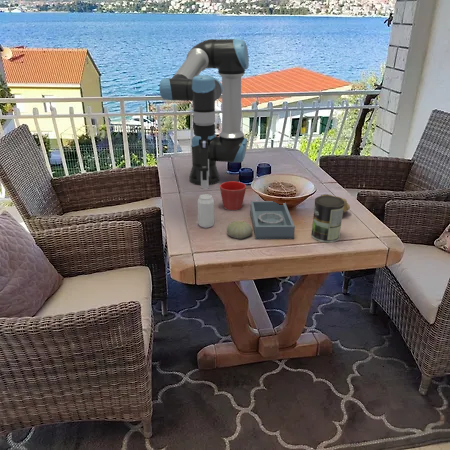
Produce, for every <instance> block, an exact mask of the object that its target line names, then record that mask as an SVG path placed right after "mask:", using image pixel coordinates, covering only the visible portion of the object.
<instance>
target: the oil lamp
mask: <svg viewBox="0 0 450 450" xmlns="http://www.w3.org/2000/svg"><path fill="white" fill-rule="evenodd" d="M320 196H333V195H331V194H327V193H325V194H320ZM334 196H335V195H334ZM335 197H338V198H341V199H342V200H344V202H345V204H344V208H343V214H344V213H347V211H348V210H350V208H351V206H350V204H349V203H348V202H347V199H346V198H342V197H341V196H340V197H339V196H335Z"/></svg>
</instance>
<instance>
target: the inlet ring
mask: <svg viewBox="0 0 450 450" xmlns="http://www.w3.org/2000/svg"><path fill="white" fill-rule="evenodd" d="M266 218H273V219H277V220H279V221H277V222H267V221H264V220H263V219H266ZM283 222H284V217H282V216H281V215H280V214H276V213H263V214H260V215H259V217H258V223H259V224H260V225H261V226H280V225H283Z"/></svg>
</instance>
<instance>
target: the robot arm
mask: <svg viewBox="0 0 450 450" xmlns="http://www.w3.org/2000/svg"><path fill="white" fill-rule="evenodd" d="M248 49H249V48H248V45H247V43H246V42H245V40H243V39H238V38H237V39H235V38H229V39H226V38H225V39H224V38H223V39H213V38H211V39H206V40H203V41H200V42H199V43H198V44H197V43H196V45H194V46H193V47H192V48H190V49H189V51H188V52H187V53H186V58H185V60H184V62H183V63H182V64H181V66H180V67H179V68H178V70H177V71H176V72H175V73H174V75H173V76H172V77H171V78H170V77H167V78H162V79H161V80H160V82H159V94H160V97H161V98H162V100H165V101H171V102H172V101H184V102H185V101H186V102H189V101H190V102H192V111H193V112H192V113H191V117H193V118H192V121H193V123H194V124H193V135H194V136H193V137H192V138H191V145H190V146H191V159H192V160H191V161H192V163H191V165H192V166H191V170H190V174H189V175H188V176H189V182H190V183H191V184H193V185H197V186H200V189H209V188H210V187H209V186H210V185H215V184H217V183H219V182H220V173H219V170H218V168H217V162H226V163H233V164H234V163H242V162H244V159H245V158H246V157H245V156H246V153H247V147H248V138H247V137H245V133H244V132H243V131H242V129H241V128H242V77H243V76H244V74H245V72H246V70H248V69H249V67H250V65H249V61H250V60H249V51H248ZM207 69H214V70H215V69H218V72H217V73H218V75H219V76H220V78H221V82H220V80H218V79H216V78H215V77H214V76H212V75H200V74H201V72H203V71H204V70H207ZM220 97H221V108H222V109H221V111H222V113H221V115H222V117H221V118H222V123H221V124H222V130H221V132H220V133H219V134H218V135H219V136H217V135H216V125H215V123H216V101H217V100H218V99H220Z"/></svg>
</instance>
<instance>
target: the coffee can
mask: <svg viewBox="0 0 450 450" xmlns="http://www.w3.org/2000/svg"><path fill="white" fill-rule="evenodd" d="M338 197H339V196H336V197H335V195H332V196H321V195H319V196H317V197H315V199H314V207H313V216H312V227H311V233H310V235H311V238H313V239H314V240H315V241H317V242H321V243H326V244H327V243H334V242H337V241H339V240H340V236H341V235H340V234H341V229H342V228H341V227H342V220H343V214H344V213H343V208H344V204H345V202H344V200H342V199H343V198H342V197H340V198H338ZM341 198H342V199H341Z"/></svg>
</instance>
